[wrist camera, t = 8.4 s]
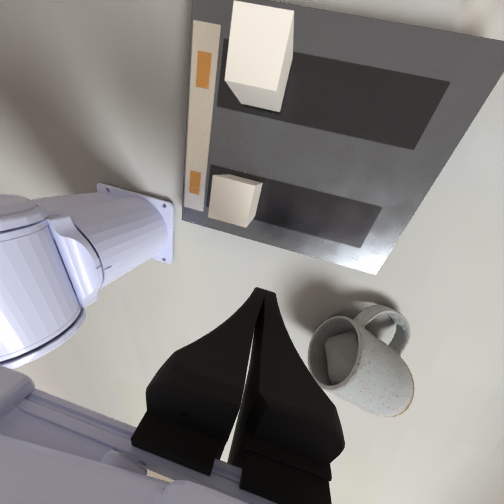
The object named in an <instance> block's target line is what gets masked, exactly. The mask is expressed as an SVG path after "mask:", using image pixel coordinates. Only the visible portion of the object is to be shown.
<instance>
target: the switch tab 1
mask: <svg viewBox="0 0 504 504" xmlns="http://www.w3.org/2000/svg"><path fill="white" fill-rule="evenodd" d="M293 31H294V11H292V10H286V9H280V8H275V7H269V6H263V5H258V4H252V3H246V2H240V1H235V0H234V3H233V11H232V20H231V28H230V37H229V46H228V54H227V63H226V72H225V82H226V83H227V84H228V86H229V87H230V89H231V90H232V91H233V93H234V94H235V96H236V97H237V99H238V100H239V101H240V103H241V104H245V105H250V106H254V107H259V108H263V109H268V110H272V111H277V112H280V110H281V105H282V101H283V97H284V93H285V88H286V84H287V80H288V75H289V71H290V67H291V63H292V58H293Z"/></svg>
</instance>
